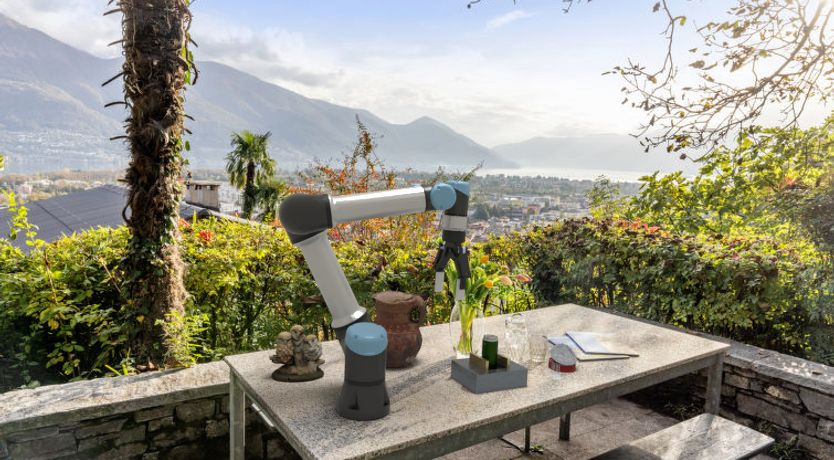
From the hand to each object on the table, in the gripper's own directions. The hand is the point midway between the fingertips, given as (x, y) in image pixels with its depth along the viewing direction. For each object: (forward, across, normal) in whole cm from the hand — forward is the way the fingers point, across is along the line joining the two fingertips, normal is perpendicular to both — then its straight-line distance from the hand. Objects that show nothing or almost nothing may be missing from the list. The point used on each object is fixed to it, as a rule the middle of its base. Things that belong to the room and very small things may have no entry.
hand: (448, 295), depth 159 cm
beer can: (+26, -1, -18) cm, 31 cm away
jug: (+30, +28, +5) cm, 42 cm away
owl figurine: (+32, +24, +41) cm, 57 cm away
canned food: (+28, +2, -53) cm, 60 cm away
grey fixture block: (+29, 0, -19) cm, 35 cm away
